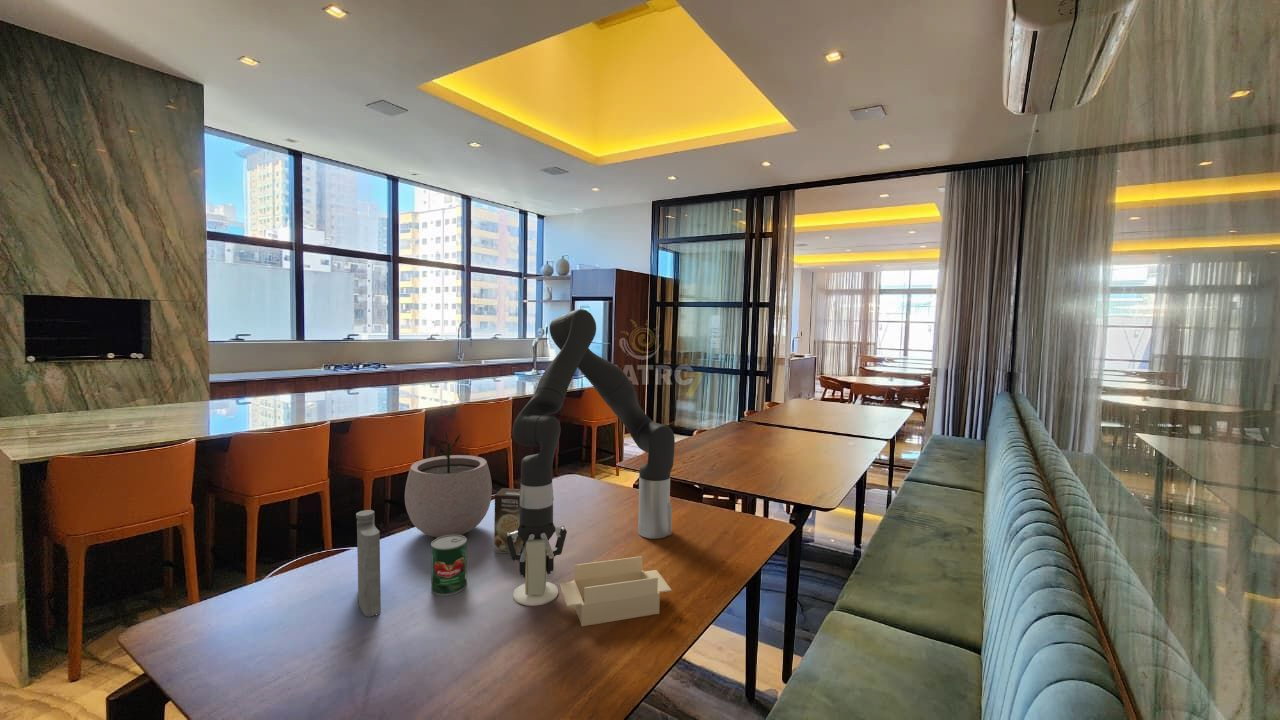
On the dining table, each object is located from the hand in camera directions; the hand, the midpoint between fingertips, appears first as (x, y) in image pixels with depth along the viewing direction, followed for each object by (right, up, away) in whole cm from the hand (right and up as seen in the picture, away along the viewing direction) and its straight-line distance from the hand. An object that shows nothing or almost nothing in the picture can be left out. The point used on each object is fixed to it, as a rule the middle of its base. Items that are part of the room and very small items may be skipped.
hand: (536, 573), depth 119 cm
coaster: (0, -5, 0) cm, 5 cm away
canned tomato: (-21, -4, +3) cm, 22 cm away
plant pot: (-32, -2, +34) cm, 47 cm away
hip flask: (-37, -5, -3) cm, 37 cm away
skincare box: (0, -4, 0) cm, 4 cm away
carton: (+18, -5, -4) cm, 19 cm away
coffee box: (-11, -3, +24) cm, 27 cm away
